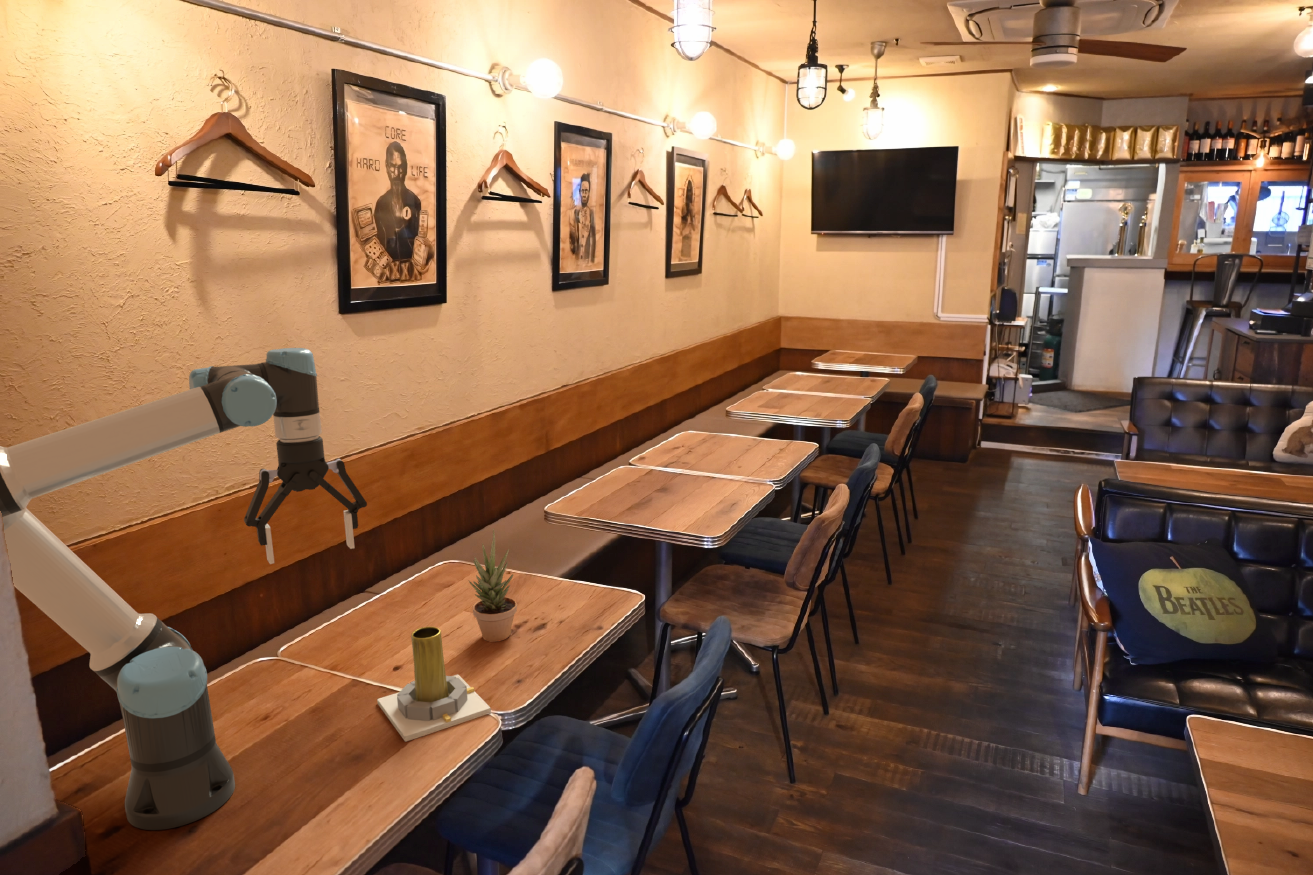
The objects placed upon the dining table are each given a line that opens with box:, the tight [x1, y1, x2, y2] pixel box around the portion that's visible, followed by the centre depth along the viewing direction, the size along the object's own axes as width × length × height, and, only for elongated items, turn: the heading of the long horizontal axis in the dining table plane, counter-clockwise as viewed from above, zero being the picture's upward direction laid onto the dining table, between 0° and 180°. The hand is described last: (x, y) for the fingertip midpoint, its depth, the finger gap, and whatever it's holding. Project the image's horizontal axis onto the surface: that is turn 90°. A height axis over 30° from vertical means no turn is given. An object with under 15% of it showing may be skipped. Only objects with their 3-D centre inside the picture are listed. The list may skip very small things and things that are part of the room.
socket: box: [376, 674, 492, 742], centre depth 162 cm, size 16×16×4 cm
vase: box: [410, 626, 449, 702], centre depth 161 cm, size 6×6×14 cm
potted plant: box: [467, 528, 518, 643], centre depth 190 cm, size 10×10×25 cm
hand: (311, 554), depth 156 cm, fingers open, 13 cm apart
